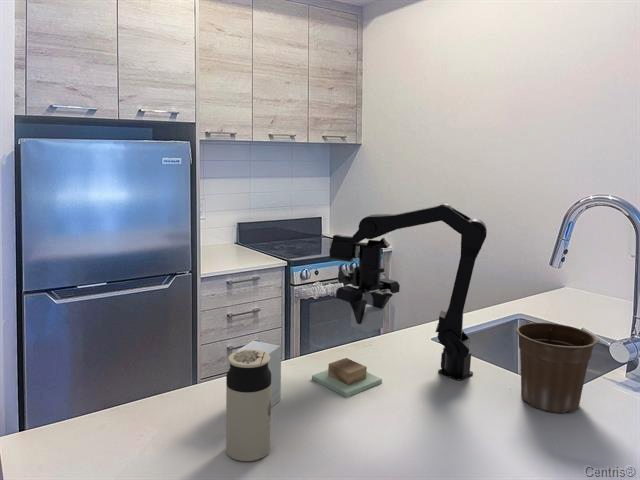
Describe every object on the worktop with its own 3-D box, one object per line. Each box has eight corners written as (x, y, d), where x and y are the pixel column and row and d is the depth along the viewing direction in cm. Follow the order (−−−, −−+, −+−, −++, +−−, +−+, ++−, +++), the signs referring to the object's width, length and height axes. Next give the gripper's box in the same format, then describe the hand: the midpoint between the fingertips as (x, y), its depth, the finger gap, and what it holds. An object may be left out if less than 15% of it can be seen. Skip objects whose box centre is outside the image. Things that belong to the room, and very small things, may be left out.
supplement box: (281, 399, 114) (282, 345, 112) (264, 414, 108) (265, 356, 106) (253, 392, 117) (253, 339, 115) (234, 406, 111) (235, 350, 109)
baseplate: (381, 382, 124) (382, 378, 124) (346, 397, 116) (346, 392, 116) (346, 366, 133) (347, 363, 133) (311, 379, 125) (311, 375, 125)
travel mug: (219, 460, 91) (219, 363, 88) (234, 436, 99) (235, 346, 96) (263, 465, 90) (264, 367, 87) (275, 441, 97) (276, 350, 95)
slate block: (383, 327, 136) (383, 309, 135) (367, 332, 132) (368, 313, 131) (366, 322, 140) (367, 304, 139) (350, 326, 136) (351, 308, 136)
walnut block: (366, 378, 124) (366, 366, 123) (348, 385, 120) (348, 373, 119) (345, 369, 129) (346, 357, 129) (328, 375, 125) (328, 363, 125)
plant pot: (509, 409, 113) (515, 339, 110) (511, 380, 128) (517, 318, 125) (592, 425, 107) (601, 351, 104) (584, 393, 122) (592, 328, 119)
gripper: (371, 254, 145) (369, 308, 148) (322, 262, 133) (320, 320, 136) (402, 261, 137) (399, 317, 140) (352, 270, 125) (350, 331, 127)
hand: (367, 321), depth 136 cm, fingers closed on slate block, 6 cm apart
